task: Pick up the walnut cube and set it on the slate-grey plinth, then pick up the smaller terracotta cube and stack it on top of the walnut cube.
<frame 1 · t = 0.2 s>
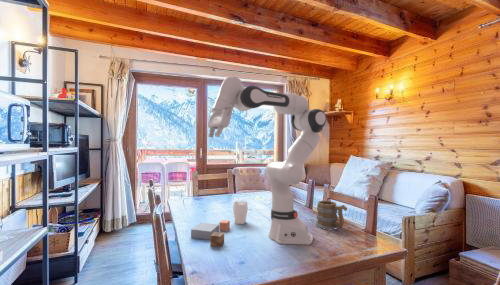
hand: (213, 136, 108), 51 cm above the table, tool tilted 20°, fingers open, 8 cm apart
cup: (240, 222, 146), on the table
plinth: (205, 234, 125), on the table
tankard: (331, 228, 137), on the table
walnut cube: (217, 244, 113), on the table
terracotta cube: (224, 229, 133), on the table
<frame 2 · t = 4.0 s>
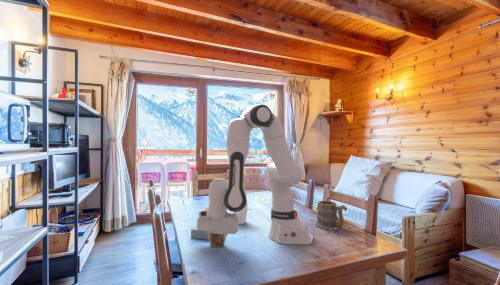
hand: (217, 240, 113), 2 cm above the table, tool pointing down, fingers closed on walnut cube, 5 cm apart
walnut cube: (217, 244, 113), on the table, touching gripper
everything else where it was.
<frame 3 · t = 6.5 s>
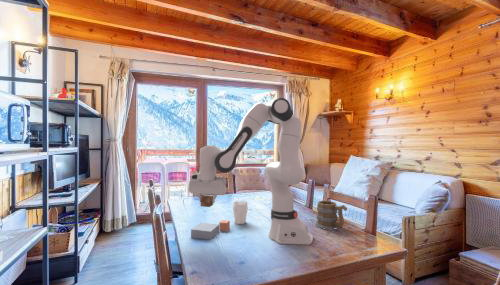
hand: (207, 202, 123), 18 cm above the table, tool pointing down, fingers closed on walnut cube, 5 cm apart
walnut cube: (207, 205, 123), point 16 cm above the table, touching gripper
everything else where it was.
when the fingers open (7 cm above the table, at t = 9.1 s): walnut cube drops 1 cm, resting on plinth.
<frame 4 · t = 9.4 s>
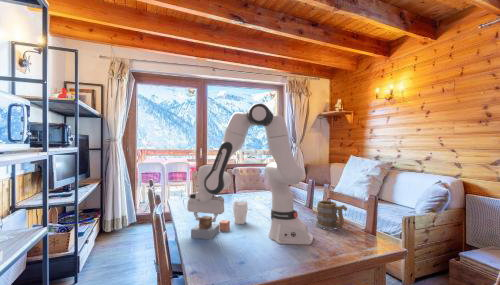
hand: (205, 221, 126), 7 cm above the table, tool pointing down, fingers open, 8 cm apart
walnut cube: (205, 226, 125), point 4 cm above the table, touching plinth
everything else where it was.
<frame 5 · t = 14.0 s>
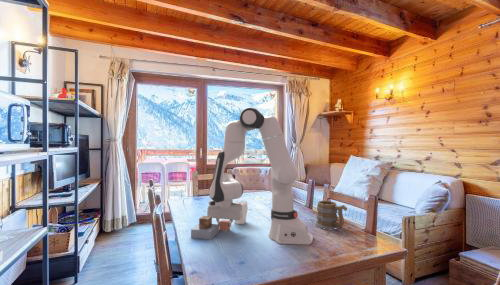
hand: (224, 226, 133), 2 cm above the table, tool pointing down, fingers closed on terracotta cube, 4 cm apart
terracotta cube: (224, 229, 133), on the table, touching gripper
everything else where it was.
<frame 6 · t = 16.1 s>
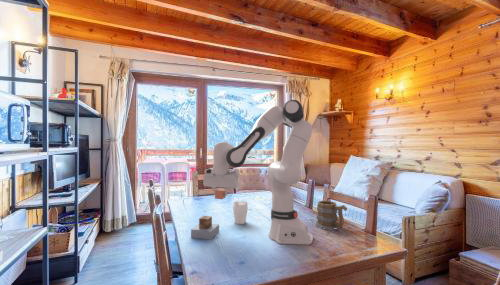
hand: (220, 195, 132), 20 cm above the table, tool pointing down, fingers closed on terracotta cube, 4 cm apart
terracotta cube: (220, 198, 132), point 18 cm above the table, touching gripper
everything else where it was.
when the fingers open (12 cm above the table, at t = 18.4 s): terracotta cube drops 1 cm, resting on walnut cube.
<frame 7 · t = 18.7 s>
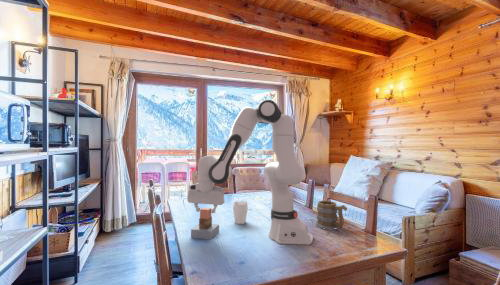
hand: (205, 212, 126), 12 cm above the table, tool pointing down, fingers open, 8 cm apart
walnut cube: (205, 226, 125), point 4 cm above the table, touching plinth, terracotta cube
terracotta cube: (205, 217, 126), point 9 cm above the table, touching walnut cube
everything else where it was.
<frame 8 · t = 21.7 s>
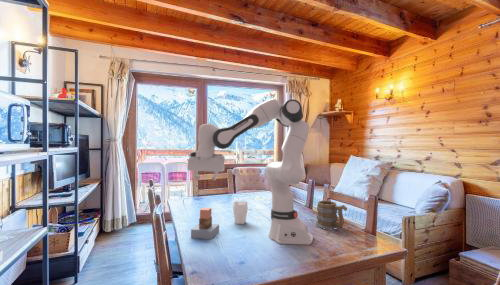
hand: (205, 179, 126), 29 cm above the table, tool pointing down, fingers open, 8 cm apart
nothing on the table moved.
at the end: walnut cube 0.1 cm off-centre on the plinth, point 4.0 cm above the plinth's base; terracotta cube 0.1 cm off-centre on the plinth, point 9.0 cm above the plinth's base; terracotta cube tilted 0° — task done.
